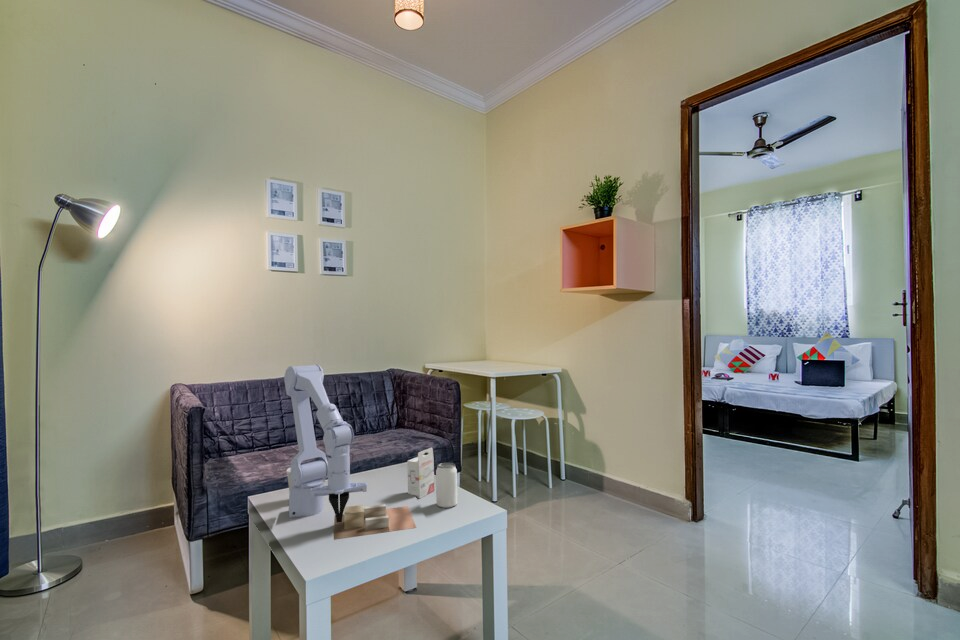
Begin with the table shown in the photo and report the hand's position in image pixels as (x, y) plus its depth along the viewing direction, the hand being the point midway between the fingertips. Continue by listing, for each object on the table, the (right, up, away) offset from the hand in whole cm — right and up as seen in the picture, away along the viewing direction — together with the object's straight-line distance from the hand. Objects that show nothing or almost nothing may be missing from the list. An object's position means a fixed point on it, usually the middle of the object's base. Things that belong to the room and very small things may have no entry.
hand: (339, 520), depth 121 cm
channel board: (+9, -2, +3) cm, 10 cm away
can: (+28, -3, +17) cm, 33 cm away
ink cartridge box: (+19, -3, +27) cm, 33 cm away
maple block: (+4, -1, +1) cm, 4 cm away
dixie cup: (-20, -4, +23) cm, 31 cm away
